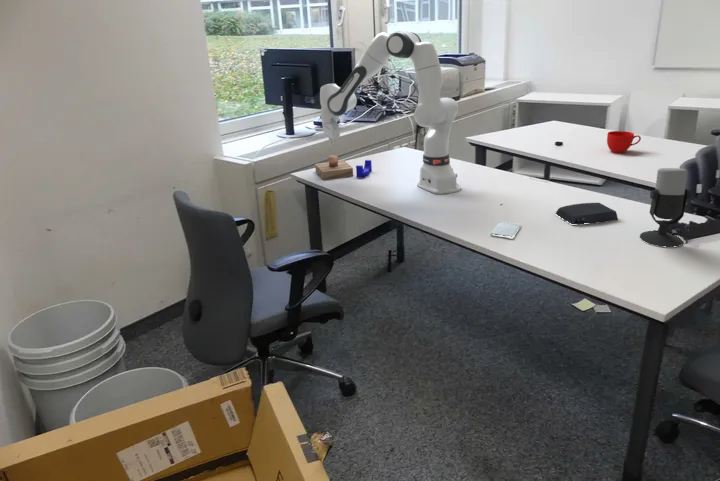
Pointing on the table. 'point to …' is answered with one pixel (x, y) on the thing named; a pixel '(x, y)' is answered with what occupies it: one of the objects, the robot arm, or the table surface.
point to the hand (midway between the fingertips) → (332, 144)
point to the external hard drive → (586, 213)
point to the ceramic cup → (620, 141)
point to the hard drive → (506, 229)
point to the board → (334, 170)
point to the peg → (333, 161)
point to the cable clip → (366, 171)
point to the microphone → (667, 205)
